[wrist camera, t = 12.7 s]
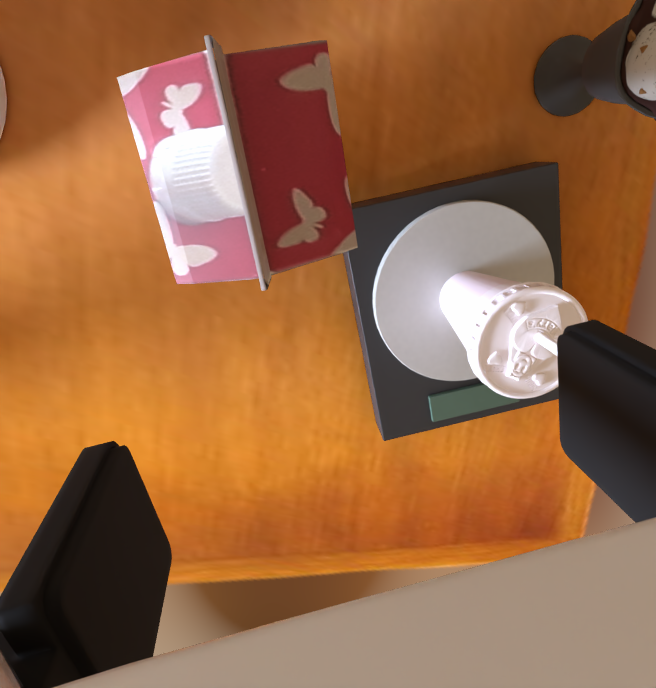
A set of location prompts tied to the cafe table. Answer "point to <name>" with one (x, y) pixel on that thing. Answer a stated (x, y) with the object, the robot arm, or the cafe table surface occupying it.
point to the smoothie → (510, 330)
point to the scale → (429, 278)
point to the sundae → (602, 66)
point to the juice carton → (243, 160)
